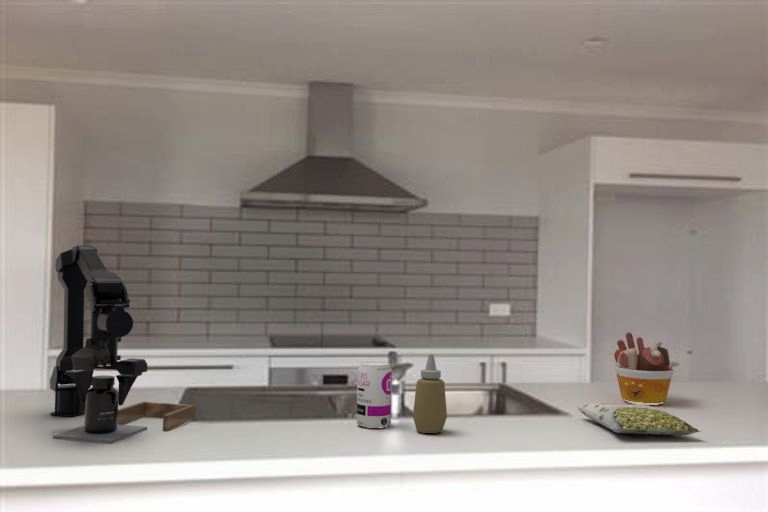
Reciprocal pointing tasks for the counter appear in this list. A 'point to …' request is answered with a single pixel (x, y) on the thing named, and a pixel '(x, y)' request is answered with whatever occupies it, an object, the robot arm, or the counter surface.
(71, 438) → the grey mat
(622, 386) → the bucket of meat
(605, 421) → the frozen beans
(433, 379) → the squeeze bottle
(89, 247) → the robot arm
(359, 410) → the supplement can
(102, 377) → the supplement bottle
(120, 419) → the walnut frame
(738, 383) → the counter surface
